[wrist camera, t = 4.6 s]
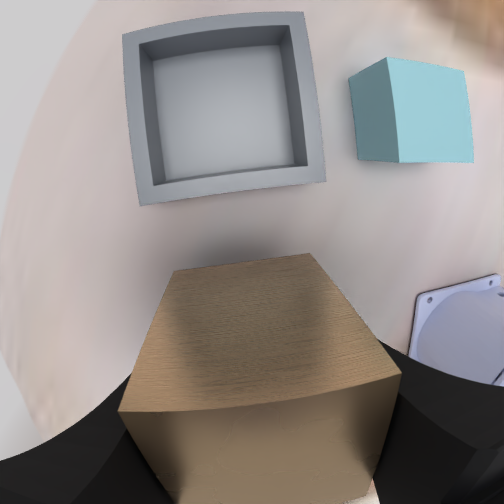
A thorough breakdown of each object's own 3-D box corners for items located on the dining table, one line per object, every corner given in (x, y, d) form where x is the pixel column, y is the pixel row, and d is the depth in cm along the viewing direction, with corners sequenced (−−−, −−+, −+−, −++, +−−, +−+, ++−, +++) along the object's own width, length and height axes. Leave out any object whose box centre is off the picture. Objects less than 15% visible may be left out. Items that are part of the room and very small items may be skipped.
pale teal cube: (416, 83, 16) (463, 71, 11) (423, 157, 17) (473, 162, 13) (347, 78, 16) (386, 57, 11) (357, 159, 17) (399, 162, 12)
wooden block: (309, 253, 11) (401, 372, 5) (313, 361, 13) (365, 496, 6) (174, 270, 11) (117, 410, 5) (199, 377, 13) (189, 520, 6)
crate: (289, 35, 15) (303, 11, 11) (307, 176, 17) (326, 181, 14) (140, 54, 14) (122, 34, 11) (156, 196, 17) (139, 206, 14)
